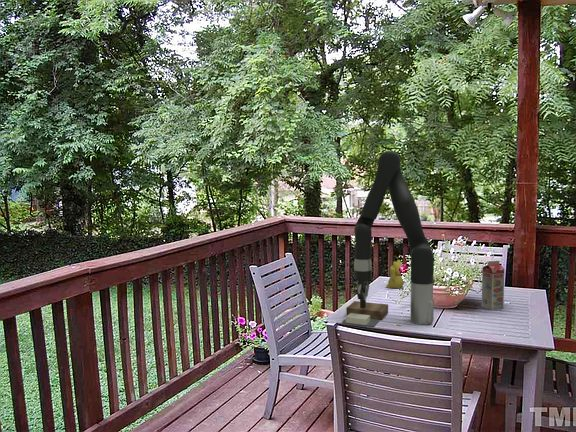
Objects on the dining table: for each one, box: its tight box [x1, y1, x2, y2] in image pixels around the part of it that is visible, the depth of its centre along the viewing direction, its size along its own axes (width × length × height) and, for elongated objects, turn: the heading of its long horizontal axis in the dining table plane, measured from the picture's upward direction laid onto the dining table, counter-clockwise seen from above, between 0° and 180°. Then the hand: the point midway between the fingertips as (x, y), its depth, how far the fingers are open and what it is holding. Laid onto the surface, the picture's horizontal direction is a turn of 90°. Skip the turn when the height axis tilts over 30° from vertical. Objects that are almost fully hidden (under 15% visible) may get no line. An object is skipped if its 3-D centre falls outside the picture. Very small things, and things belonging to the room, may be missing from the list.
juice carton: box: [481, 260, 505, 311], centre depth 230 cm, size 7×7×22 cm
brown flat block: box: [345, 300, 389, 321], centre depth 223 cm, size 16×12×4 cm
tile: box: [345, 313, 370, 325], centre depth 212 cm, size 9×6×2 cm, turn 64°
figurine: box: [386, 259, 405, 289], centre depth 271 cm, size 11×9×15 cm
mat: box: [341, 318, 380, 328], centre depth 213 cm, size 14×10×1 cm
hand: (362, 307), depth 216 cm, fingers closed
